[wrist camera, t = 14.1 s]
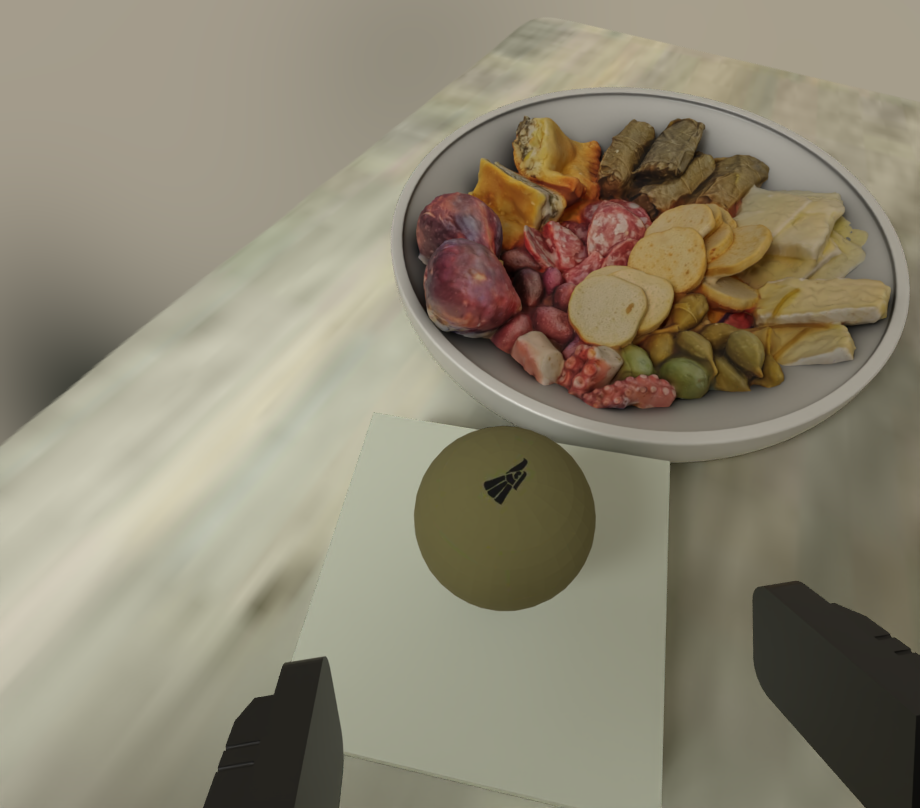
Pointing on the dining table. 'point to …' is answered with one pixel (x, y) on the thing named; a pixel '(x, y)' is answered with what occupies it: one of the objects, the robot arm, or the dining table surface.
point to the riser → (498, 640)
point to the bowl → (648, 272)
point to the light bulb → (504, 518)
